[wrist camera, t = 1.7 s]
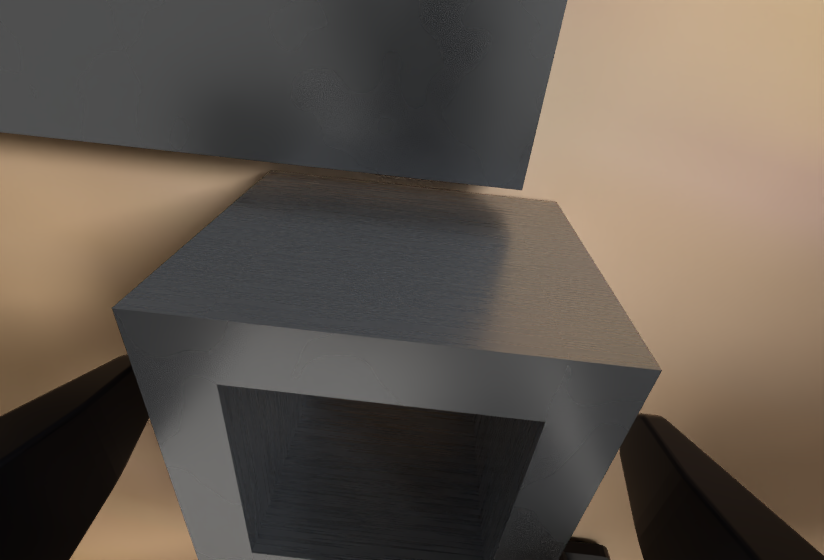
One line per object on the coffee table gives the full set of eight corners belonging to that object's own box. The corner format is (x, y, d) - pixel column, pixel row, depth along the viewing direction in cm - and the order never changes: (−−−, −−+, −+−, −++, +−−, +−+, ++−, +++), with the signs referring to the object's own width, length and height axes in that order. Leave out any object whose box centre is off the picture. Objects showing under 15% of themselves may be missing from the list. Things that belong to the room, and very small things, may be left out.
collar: (499, 402, 12) (529, 612, 8) (288, 378, 12) (203, 574, 8) (556, 202, 9) (662, 369, 5) (271, 170, 9) (111, 308, 5)
